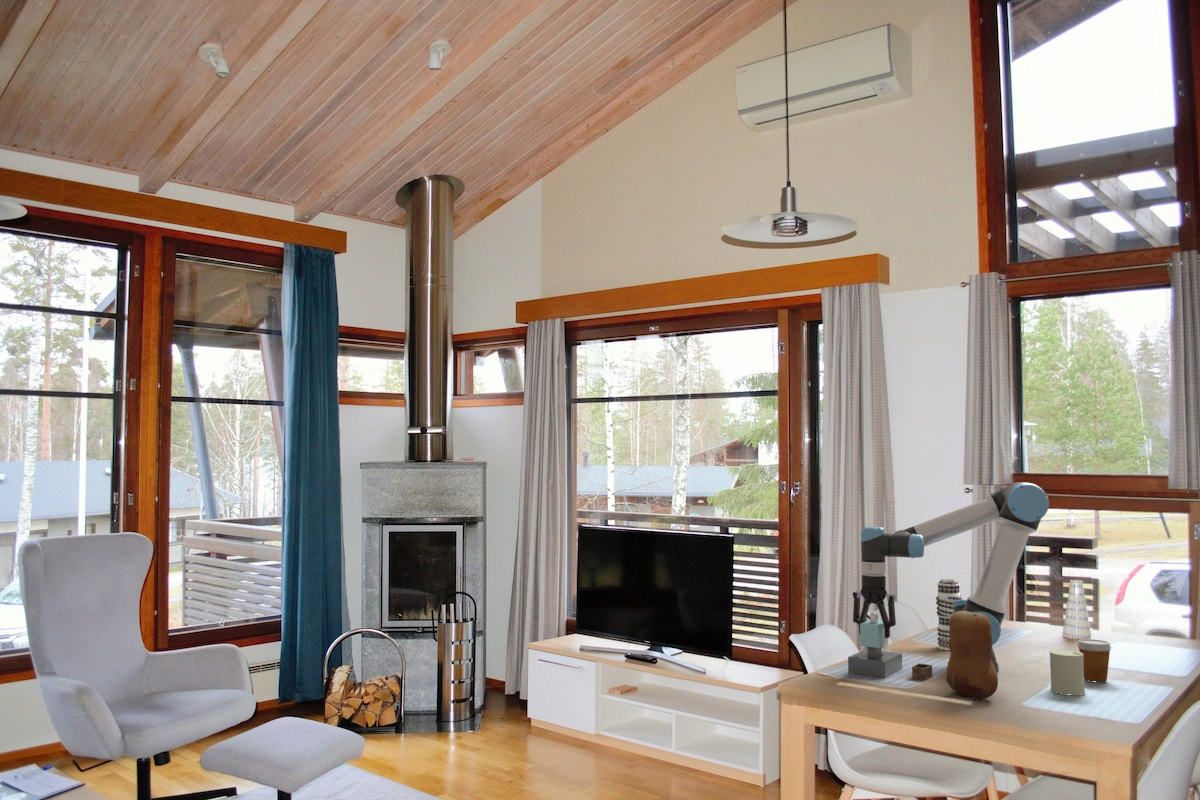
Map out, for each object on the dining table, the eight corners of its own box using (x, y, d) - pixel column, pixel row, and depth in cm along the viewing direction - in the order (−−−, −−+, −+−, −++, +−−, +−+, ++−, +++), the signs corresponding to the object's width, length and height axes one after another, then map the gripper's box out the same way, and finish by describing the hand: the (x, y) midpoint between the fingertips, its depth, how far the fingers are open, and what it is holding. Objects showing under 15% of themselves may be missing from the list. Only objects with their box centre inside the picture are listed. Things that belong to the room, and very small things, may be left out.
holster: (939, 680, 289) (938, 665, 289) (931, 684, 283) (931, 670, 283) (913, 676, 294) (913, 662, 294) (905, 681, 287) (905, 666, 288)
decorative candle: (965, 647, 339) (964, 579, 341) (960, 652, 331) (958, 582, 333) (940, 644, 344) (938, 577, 346) (934, 649, 336) (932, 580, 338)
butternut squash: (993, 694, 272) (991, 608, 273) (1002, 705, 259) (1000, 615, 260) (943, 691, 275) (941, 606, 276) (950, 702, 262) (948, 614, 263)
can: (1083, 697, 268) (1082, 655, 269) (1048, 693, 273) (1047, 652, 273) (1086, 690, 276) (1084, 650, 276) (1052, 686, 280) (1051, 646, 281)
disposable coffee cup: (1100, 685, 282) (1098, 645, 283) (1071, 679, 290) (1070, 640, 291) (1119, 682, 286) (1118, 643, 287) (1090, 675, 295) (1089, 637, 295)
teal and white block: (888, 655, 299) (887, 612, 300) (878, 660, 292) (878, 616, 293) (870, 653, 303) (870, 610, 304) (860, 658, 296) (859, 614, 297)
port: (902, 672, 300) (901, 652, 300) (885, 681, 287) (884, 660, 288) (866, 667, 307) (866, 648, 308) (848, 676, 294) (847, 656, 295)
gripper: (841, 573, 302) (842, 644, 300) (898, 578, 291) (899, 652, 289) (849, 571, 308) (850, 641, 306) (906, 575, 297) (907, 648, 295)
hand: (874, 646), depth 298 cm, fingers closed on teal and white block, 6 cm apart
